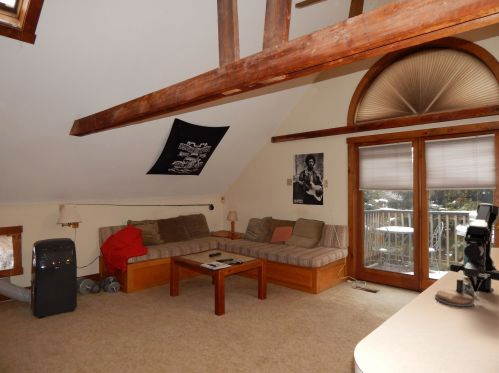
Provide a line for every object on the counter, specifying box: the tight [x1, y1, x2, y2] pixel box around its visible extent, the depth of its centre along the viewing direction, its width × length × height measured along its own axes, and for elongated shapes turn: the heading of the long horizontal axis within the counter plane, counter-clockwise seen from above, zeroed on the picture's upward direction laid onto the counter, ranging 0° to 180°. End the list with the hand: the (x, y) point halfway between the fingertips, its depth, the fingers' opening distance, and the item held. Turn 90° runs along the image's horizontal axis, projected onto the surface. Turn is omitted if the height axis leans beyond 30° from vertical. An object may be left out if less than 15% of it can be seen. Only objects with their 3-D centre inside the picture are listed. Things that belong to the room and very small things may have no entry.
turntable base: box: [434, 293, 475, 309], centre depth 143 cm, size 14×14×1 cm
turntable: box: [436, 278, 474, 304], centre depth 144 cm, size 15×13×6 cm
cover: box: [462, 281, 475, 298], centre depth 151 cm, size 5×5×5 cm
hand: (475, 291), depth 144 cm, fingers closed
